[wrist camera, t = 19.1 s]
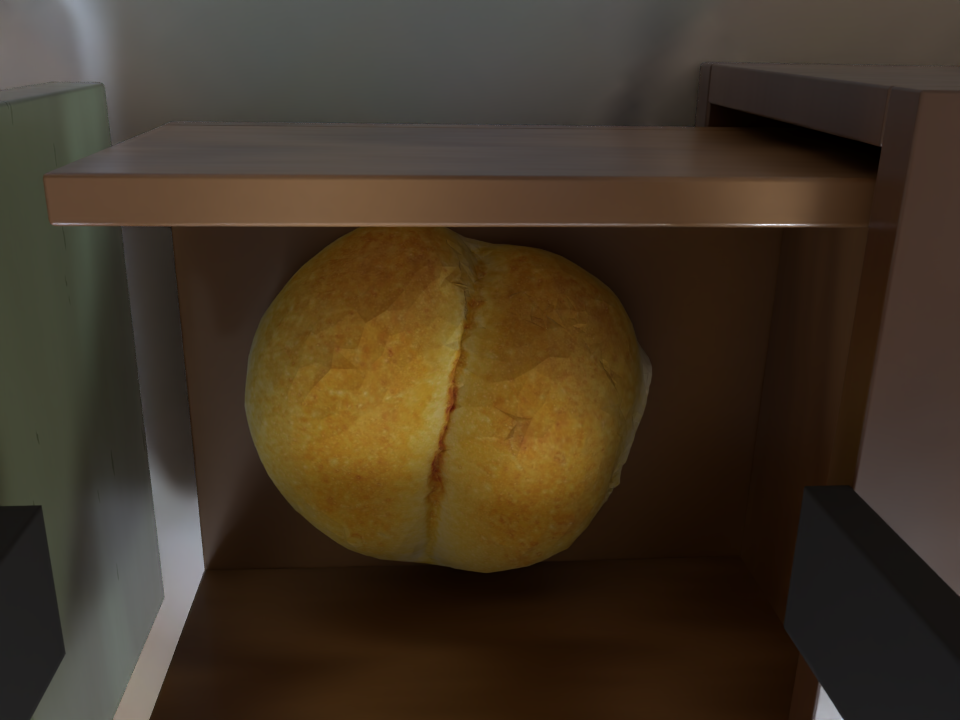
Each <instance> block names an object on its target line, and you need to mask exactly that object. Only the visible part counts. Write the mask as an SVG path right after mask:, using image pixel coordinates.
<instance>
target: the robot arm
mask: <svg viewBox="0 0 960 720" xmlns="http://www.w3.org/2000/svg"><path fill="white" fill-rule="evenodd" d="M783 627H784V629H785V630H786V632H787V633H788V635H789V636H790V638H791V639H792V641H793V642H794V644H795V646H796V647H797V649H798V650H799V652H800V653H801V655H802V656H803V658H804V659H805V661H806V663H807V664H808V666H809V667H810V669H811V670H812V672H813V673H814V675H815V676H816V678H817V680H818V681H819V683H820V684H821V686H822V687H823V689H824V690H825V692H826V693H827V695H828V697H829V698H830V700H831V701H832V703H833V704H834V706H835V707H836V709H837V711H838V712H839V714H840V715H841V717H842V718H843V720H960V597H959V596H958V595H957V594H956V593H955V592H954V591H953V589H952V588H951V587H950V586H949V585H948V584H947V583H946V582H945V581H944V580H943V579H942V578H941V577H940V576H939V575H938V574H937V573H936V572H935V571H934V570H933V569H932V568H931V567H930V566H929V565H928V564H927V563H926V562H925V561H924V560H923V559H922V558H921V557H920V556H919V555H918V554H917V553H916V552H915V551H914V550H913V549H912V548H911V547H910V546H909V545H908V544H907V543H906V542H905V541H904V540H903V539H902V538H901V537H900V536H899V535H898V534H897V533H896V532H895V531H894V530H893V529H892V528H891V527H890V526H889V525H888V524H887V523H886V522H885V521H884V520H883V519H882V518H881V517H880V516H879V515H878V514H877V513H876V512H875V511H874V510H873V509H872V508H871V507H870V506H869V505H868V504H867V503H866V502H865V501H864V500H863V499H862V498H861V497H860V496H859V495H858V494H857V493H856V492H855V491H854V490H853V489H852V488H851V487H850V486H849V485H832V486H804V492H803V499H802V505H801V512H800V519H799V525H798V532H797V539H796V545H795V552H794V559H793V566H792V572H791V579H790V586H789V592H788V599H787V606H786V612H785V619H784V626H783ZM65 654H66V652H65V646H64V640H63V634H62V628H61V621H60V615H59V609H58V603H57V597H56V591H55V584H54V578H53V572H52V566H51V560H50V554H49V547H48V541H47V535H46V529H45V523H44V517H43V510H42V505H28V506H0V720H31V718H32V716H33V714H34V712H35V710H36V708H37V706H38V705H39V703H40V701H41V699H42V697H43V695H44V693H45V692H46V690H47V688H48V686H49V684H50V682H51V680H52V679H53V677H54V675H55V673H56V671H57V669H58V667H59V666H60V664H61V662H62V660H63V658H64V656H65Z"/></svg>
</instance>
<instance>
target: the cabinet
mask: <svg viewBox="0 0 960 720" xmlns="http://www.w3.org/2000/svg"><path fill="white" fill-rule="evenodd" d="M695 127H776V128H809V129H813V130H817V131H820V132H824V133H828V134H832V135H836V136H840V137H844V138H848V139H852V140H856V141H860V142H864V143H867V144H871V145H875V146H879V147H882V148H881V154H880V161H879V167H878V173H877V179H876V185H875V191H874V197H873V204H872V210H871V216H870V222H869V228H868V234H867V240H866V247H865V253H864V259H863V265H862V271H861V277H860V283H859V290H858V296H857V302H856V308H855V314H854V320H853V326H852V332H851V339H850V345H849V351H848V357H847V363H846V369H845V375H844V382H843V388H842V394H841V400H840V406H839V412H838V418H837V425H836V431H835V437H834V443H833V449H832V455H831V461H830V468H829V474H828V480H827V486H832V485H849V486H850V487H851V488H852V489H853V490H854V491H855V492H856V493H857V494H858V495H859V496H860V497H861V498H862V499H863V500H864V501H865V502H866V503H867V504H868V505H869V506H870V507H871V508H872V509H873V510H874V511H875V512H876V513H877V514H878V515H879V516H880V517H881V518H882V519H883V520H884V521H885V522H886V523H887V524H888V525H889V526H890V527H891V528H892V529H893V530H894V531H895V532H896V533H897V534H898V535H899V536H900V537H901V538H902V539H903V540H904V541H905V542H906V543H907V544H908V545H909V546H910V547H911V548H912V549H913V550H914V551H915V552H916V553H917V554H918V555H919V556H920V557H921V558H922V559H923V560H924V561H925V562H926V563H927V564H928V565H929V566H930V567H931V568H932V569H933V570H934V571H935V572H936V573H937V574H938V575H939V576H940V577H941V578H942V579H943V580H944V581H945V582H946V583H947V584H948V585H949V586H950V587H951V588H952V589H953V591H954V592H955V593H956V594H957V595H958V596H959V597H960V66H913V65H849V64H785V63H721V62H704V63H702V64H701V67H700V78H699V89H698V99H697V110H696V120H695ZM788 720H843V718H842V717H841V715H840V714H839V712H838V711H837V709H836V707H835V706H834V704H833V703H832V701H831V700H830V698H829V697H828V695H827V693H826V692H825V690H824V689H823V687H822V686H821V684H820V683H819V681H818V680H817V678H816V676H815V675H814V673H813V672H812V670H811V669H810V667H809V666H808V664H807V663H806V661H805V659H804V658H803V656H802V655H801V653H800V652H799V658H798V664H797V670H796V676H795V683H794V689H793V695H792V701H791V707H790V713H789V719H788Z"/></svg>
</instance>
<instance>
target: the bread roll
mask: <svg viewBox="0 0 960 720" xmlns="http://www.w3.org/2000/svg"><path fill="white" fill-rule="evenodd" d="M651 377H652V365H651V363H650V360H649V357H648V356H647V354H646V353H645V352H644V350H643V349H642V348H641V346H640V344H639V343H638V341H637V338H636V334H635V331H634V328H633V324H632V322H631V320H630V318H629V316H628V315H627V313H626V311H625V309H624V307H623V305H622V303H621V302H620V300H619V299H618V297H617V296H616V295H615V293H614V292H613V291H612V290H611V289H610V288H609V287H608V286H607V285H605V284H604V283H603V282H602V281H600V280H599V279H598V278H596V277H595V276H593V275H592V274H590V273H589V272H587V271H586V270H584V269H583V268H581V267H580V266H578V265H577V264H575V263H573V262H571V261H570V260H568V259H566V258H564V257H562V256H560V255H557V254H555V253H552V252H549V251H546V250H543V249H538V248H532V247H525V246H517V245H509V244H492V243H487V242H483V241H479V240H475V239H470V238H466V237H463V236H462V235H460V234H458V233H456V232H454V231H452V230H451V229H449V228H446V227H359V228H357V229H355V230H353V231H351V232H349V233H347V234H346V235H344V236H342V237H340V238H338V239H337V240H335V241H334V242H332V243H331V244H329V245H328V246H327V247H325V248H324V249H323V250H322V251H320V252H319V253H318V254H317V255H315V256H314V257H313V258H312V259H310V260H309V261H308V262H307V263H306V264H304V265H303V266H302V267H301V268H300V269H299V270H298V271H297V272H296V273H295V274H294V275H293V277H292V278H291V279H290V280H289V281H288V282H287V284H286V285H285V286H284V288H283V289H282V290H281V291H280V293H279V294H278V295H277V297H276V298H275V299H274V300H273V302H272V303H271V305H270V306H269V308H268V309H267V311H266V312H265V314H264V315H263V317H262V318H261V320H260V323H259V325H258V328H257V331H256V333H255V336H254V338H253V342H252V346H251V349H250V353H249V357H248V366H247V377H246V387H245V411H246V416H247V421H248V425H249V429H250V433H251V436H252V439H253V442H254V445H255V447H256V449H257V452H258V454H259V457H260V460H261V462H262V464H263V465H264V467H265V469H266V472H267V474H268V475H269V477H270V478H271V480H272V481H273V483H274V484H275V486H276V487H277V488H278V490H279V491H280V492H281V494H282V495H283V496H284V498H285V499H286V500H287V501H288V502H289V503H290V505H291V506H292V507H293V508H294V509H295V511H297V512H298V513H300V514H301V515H302V516H303V517H304V518H305V519H306V520H307V521H309V522H310V523H311V524H312V525H313V526H314V527H316V528H317V529H318V530H320V531H321V532H323V533H324V534H325V535H327V536H328V537H330V538H331V539H332V540H334V541H335V542H337V543H338V544H340V545H342V546H344V547H345V548H347V549H349V550H351V551H354V552H357V553H360V554H363V555H366V556H371V557H374V558H377V559H382V560H394V561H404V562H417V563H428V564H434V565H440V566H447V567H451V568H455V569H461V570H467V571H474V572H482V573H491V572H498V571H504V570H510V569H516V568H521V567H527V566H530V565H533V564H535V563H538V562H541V561H543V560H545V559H547V558H549V557H551V556H553V555H555V554H557V553H559V552H561V551H563V550H566V549H568V548H569V547H570V546H571V545H572V544H573V542H574V541H575V540H576V539H577V538H578V537H579V536H580V535H581V533H582V532H583V531H584V530H585V529H586V528H587V527H588V526H589V524H590V522H591V521H592V519H593V518H594V517H595V515H596V514H597V512H598V511H599V510H600V508H601V507H602V506H603V504H604V503H605V502H606V501H607V500H608V498H609V495H610V494H611V493H612V491H613V488H615V487H616V486H618V485H619V484H620V475H621V470H622V466H623V465H624V464H625V463H626V461H627V458H628V455H629V452H630V448H631V446H632V443H633V441H634V437H635V433H636V430H637V428H638V426H639V423H640V421H641V418H642V416H643V413H644V410H645V406H646V403H647V396H648V393H649V386H650V383H651Z"/></svg>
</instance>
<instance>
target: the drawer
mask: <svg viewBox="0 0 960 720" xmlns="http://www.w3.org/2000/svg"><path fill="white" fill-rule="evenodd" d="M881 148H882V147H879V146H875V145H871V144H867V143H864V142H860V141H856V140H852V139H848V138H844V137H840V136H836V135H832V134H828V133H824V132H820V131H817V130H813V129H809V128H776V127H678V126H579V125H480V124H381V123H282V122H183V121H171V122H169V123H166V124H164V125H162V126H160V127H157V128H155V129H152V130H150V131H148V132H145V133H143V134H140V135H138V136H135V137H133V138H130V139H128V140H126V141H123V142H121V143H118V144H116V145H113V146H112V145H111V137H110V128H109V120H108V111H107V103H106V94H105V87H104V85H103V84H102V83H100V82H49V83H43V84H37V85H30V86H24V87H18V88H11V89H5V90H0V506H28V505H42V510H43V517H44V523H45V529H46V535H47V541H48V547H49V554H50V560H51V566H52V572H53V578H54V584H55V591H56V597H57V603H58V609H59V615H60V621H61V628H62V634H63V640H64V646H65V652H66V654H65V656H64V658H63V660H62V662H61V664H60V666H59V667H58V669H57V671H56V673H55V675H54V677H53V679H52V680H51V682H50V684H49V686H48V688H47V690H46V692H45V693H44V695H43V697H42V699H41V701H40V703H39V705H38V706H37V708H36V710H35V712H34V714H33V716H32V718H31V720H113V718H114V715H115V713H116V710H117V708H118V706H119V703H120V701H121V699H122V696H123V694H124V692H125V689H126V687H127V684H128V682H129V680H130V677H131V675H132V673H133V670H134V668H135V666H136V663H137V661H138V658H139V656H140V654H141V651H142V649H143V647H144V644H145V642H146V640H147V637H148V635H149V632H150V630H151V628H152V625H153V623H154V621H155V618H156V616H157V614H158V611H159V609H160V606H161V604H162V602H163V599H164V590H163V581H162V573H161V564H160V556H159V547H158V539H157V530H156V521H155V513H154V504H153V496H152V487H151V479H150V470H149V462H148V453H147V445H146V436H145V427H144V419H143V410H142V402H141V393H140V385H139V376H138V368H137V359H136V351H135V342H134V333H133V325H132V316H131V308H130V299H129V291H128V282H127V274H126V265H125V257H124V248H123V239H122V231H121V226H171V232H172V243H173V253H174V263H175V273H176V283H177V293H178V304H179V314H180V324H181V334H182V344H183V354H184V365H185V375H186V385H187V395H188V405H189V415H190V426H191V436H192V446H193V456H194V466H195V476H196V487H197V497H198V507H199V517H200V527H201V538H202V548H203V558H204V568H205V571H204V573H203V576H202V579H201V581H200V584H199V587H198V590H197V592H196V595H195V598H194V600H193V603H192V606H191V608H190V611H189V614H188V617H187V619H186V622H185V625H184V627H183V630H182V633H181V635H180V638H179V641H178V644H177V646H176V649H175V652H174V654H173V657H172V660H171V662H170V665H169V668H168V671H167V673H166V676H165V679H164V681H163V684H162V687H161V689H160V692H159V695H158V698H157V700H156V703H155V706H154V708H153V711H152V714H151V717H150V719H149V720H788V719H789V713H790V707H791V701H792V695H793V689H794V683H795V676H796V670H797V664H798V658H799V650H798V649H797V647H796V646H795V644H794V642H793V641H792V639H791V638H790V636H789V635H788V633H787V632H786V630H785V629H784V627H783V626H784V619H785V612H786V606H787V599H788V592H789V586H790V579H791V572H792V566H793V559H794V552H795V545H796V539H797V532H798V525H799V519H800V512H801V505H802V499H803V492H804V486H827V480H828V474H829V468H830V461H831V455H832V449H833V443H834V437H835V431H836V425H837V418H838V412H839V406H840V400H841V394H842V388H843V382H844V375H845V369H846V363H847V357H848V351H849V345H850V339H851V332H852V326H853V320H854V314H855V308H856V302H857V296H858V290H859V283H860V277H861V271H862V265H863V259H864V253H865V247H866V240H867V234H868V228H869V222H870V216H871V210H872V204H873V197H874V191H875V185H876V179H877V173H878V167H879V161H880V154H881ZM359 227H446V228H449V229H451V230H452V231H454V232H456V233H458V234H460V235H462V236H463V237H466V238H470V239H475V240H479V241H483V242H487V243H492V244H509V245H517V246H525V247H532V248H538V249H543V250H546V251H549V252H552V253H555V254H557V255H560V256H562V257H564V258H566V259H568V260H570V261H571V262H573V263H575V264H577V265H578V266H580V267H581V268H583V269H584V270H586V271H587V272H589V273H590V274H592V275H593V276H595V277H596V278H598V279H599V280H600V281H602V282H603V283H604V284H605V285H607V286H608V287H609V288H610V289H611V290H612V291H613V292H614V293H615V295H616V296H617V297H618V299H619V300H620V302H621V303H622V305H623V307H624V309H625V311H626V313H627V315H628V316H629V318H630V320H631V322H632V324H633V328H634V331H635V334H636V338H637V341H638V343H639V344H640V346H641V348H642V349H643V350H644V352H645V353H646V354H647V356H648V357H649V360H650V363H651V365H652V377H651V383H650V386H649V393H648V396H647V403H646V406H645V410H644V413H643V416H642V418H641V421H640V423H639V426H638V428H637V430H636V433H635V437H634V441H633V443H632V446H631V448H630V452H629V455H628V458H627V461H626V463H625V464H624V465H623V466H622V470H621V475H620V484H619V485H618V486H616V487H615V488H613V491H612V493H611V494H610V495H609V498H608V500H607V501H606V502H605V503H604V504H603V506H602V507H601V508H600V510H599V511H598V512H597V514H596V515H595V517H594V518H593V519H592V521H591V522H590V524H589V526H588V527H587V528H586V529H585V530H584V531H583V532H582V533H581V535H580V536H579V537H578V538H577V539H576V540H575V541H574V542H573V544H572V545H571V546H570V547H569V548H568V549H566V550H563V551H561V552H559V553H557V554H555V555H553V556H551V557H549V558H547V559H545V560H543V561H541V562H538V563H535V564H533V565H530V566H527V567H521V568H516V569H510V570H504V571H498V572H491V573H482V572H474V571H467V570H461V569H455V568H451V567H447V566H440V565H434V564H428V563H417V562H404V561H394V560H382V559H377V558H374V557H371V556H366V555H363V554H360V553H357V552H354V551H351V550H349V549H347V548H345V547H344V546H342V545H340V544H338V543H337V542H335V541H334V540H332V539H331V538H330V537H328V536H327V535H325V534H324V533H323V532H321V531H320V530H318V529H317V528H316V527H314V526H313V525H312V524H311V523H310V522H309V521H307V520H306V519H305V518H304V517H303V516H302V515H301V514H300V513H298V512H297V511H295V509H294V508H293V507H292V506H291V505H290V503H289V502H288V501H287V500H286V499H285V498H284V496H283V495H282V494H281V492H280V491H279V490H278V488H277V487H276V486H275V484H274V483H273V481H272V480H271V478H270V477H269V475H268V474H267V472H266V469H265V467H264V465H263V464H262V462H261V460H260V457H259V454H258V452H257V449H256V447H255V445H254V442H253V439H252V436H251V433H250V429H249V425H248V421H247V416H246V411H245V387H246V377H247V366H248V357H249V353H250V349H251V346H252V342H253V338H254V336H255V333H256V331H257V328H258V325H259V323H260V320H261V318H262V317H263V315H264V314H265V312H266V311H267V309H268V308H269V306H270V305H271V303H272V302H273V300H274V299H275V298H276V297H277V295H278V294H279V293H280V291H281V290H282V289H283V288H284V286H285V285H286V284H287V282H288V281H289V280H290V279H291V278H292V277H293V275H294V274H295V273H296V272H297V271H298V270H299V269H300V268H301V267H302V266H303V265H304V264H306V263H307V262H308V261H309V260H310V259H312V258H313V257H314V256H315V255H317V254H318V253H319V252H320V251H322V250H323V249H324V248H325V247H327V246H328V245H329V244H331V243H332V242H334V241H335V240H337V239H338V238H340V237H342V236H344V235H346V234H347V233H349V232H351V231H353V230H355V229H357V228H359Z"/></svg>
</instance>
